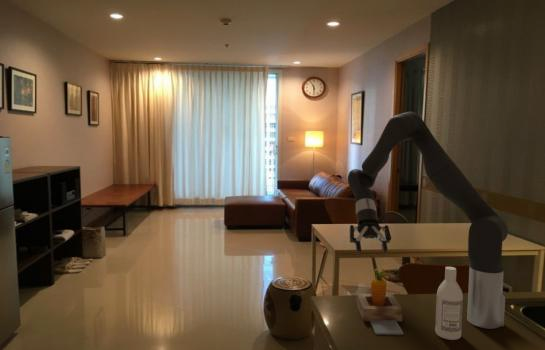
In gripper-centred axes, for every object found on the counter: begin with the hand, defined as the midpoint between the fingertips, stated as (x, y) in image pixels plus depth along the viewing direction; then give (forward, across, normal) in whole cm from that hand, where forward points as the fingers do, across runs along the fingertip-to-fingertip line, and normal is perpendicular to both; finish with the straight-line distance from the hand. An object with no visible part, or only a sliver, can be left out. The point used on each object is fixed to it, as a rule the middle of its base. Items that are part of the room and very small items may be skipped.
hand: (372, 252), depth 142 cm
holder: (+20, 0, +4) cm, 20 cm away
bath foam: (+30, +17, -5) cm, 35 cm away
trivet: (+27, 0, -3) cm, 27 cm away
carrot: (+20, 0, +4) cm, 20 cm away
